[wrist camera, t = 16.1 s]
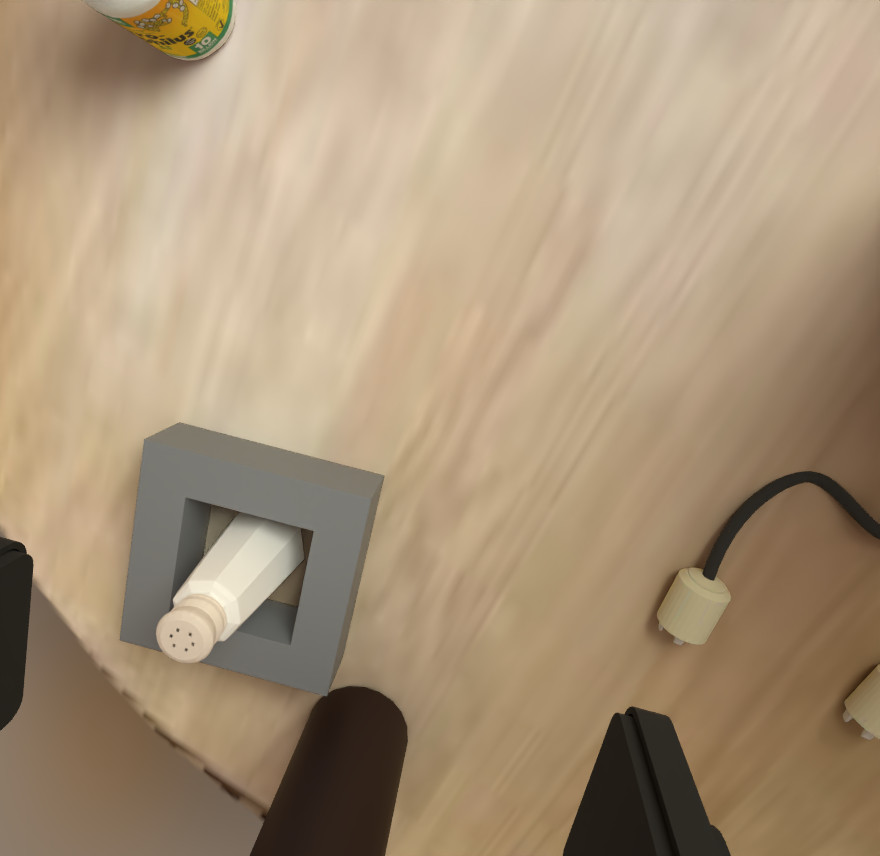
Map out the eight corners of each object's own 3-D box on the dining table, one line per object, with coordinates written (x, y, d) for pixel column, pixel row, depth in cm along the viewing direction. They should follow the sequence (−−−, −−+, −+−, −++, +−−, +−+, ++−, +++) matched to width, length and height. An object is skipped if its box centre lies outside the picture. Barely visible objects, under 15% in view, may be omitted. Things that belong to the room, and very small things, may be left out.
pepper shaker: (215, 565, 42) (116, 667, 31) (235, 490, 40) (139, 571, 30) (293, 593, 42) (222, 705, 31) (317, 520, 40) (250, 611, 30)
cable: (774, 395, 36) (802, 408, 33) (1029, 518, 37) (1082, 543, 33) (637, 616, 40) (649, 648, 37) (868, 725, 41) (902, 766, 37)
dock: (384, 475, 39) (371, 498, 35) (342, 657, 42) (326, 696, 39) (179, 422, 39) (144, 439, 36) (154, 606, 43) (119, 640, 39)
